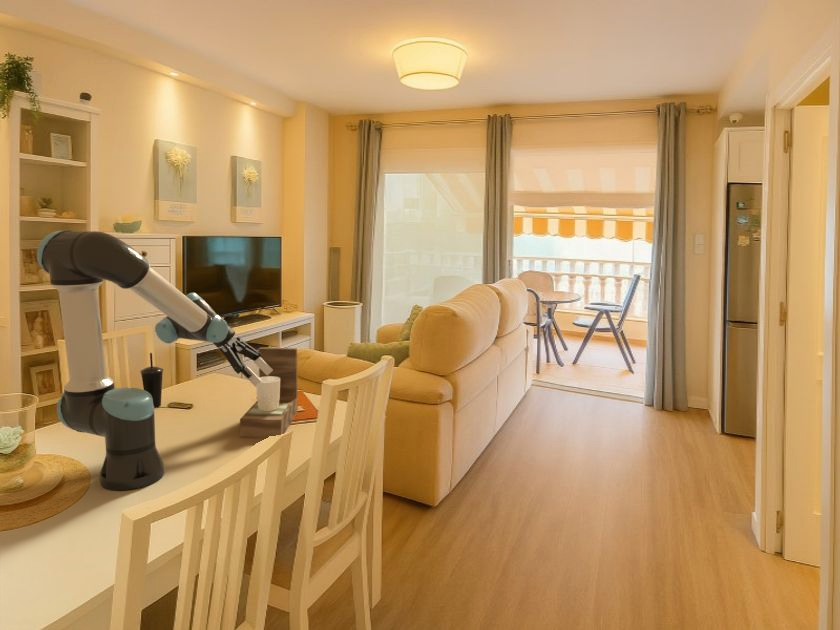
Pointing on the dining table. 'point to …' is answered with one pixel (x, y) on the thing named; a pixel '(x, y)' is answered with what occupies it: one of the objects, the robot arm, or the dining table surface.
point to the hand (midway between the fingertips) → (264, 378)
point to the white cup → (268, 393)
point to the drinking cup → (153, 382)
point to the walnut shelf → (280, 419)
